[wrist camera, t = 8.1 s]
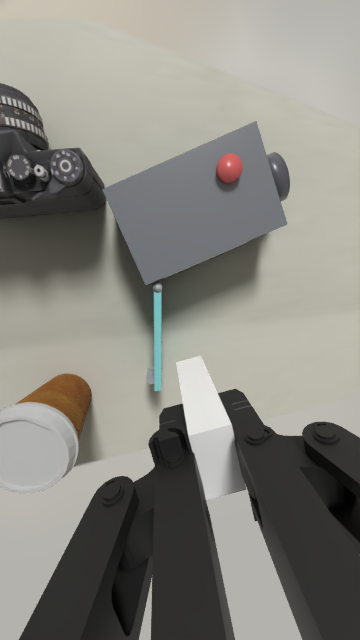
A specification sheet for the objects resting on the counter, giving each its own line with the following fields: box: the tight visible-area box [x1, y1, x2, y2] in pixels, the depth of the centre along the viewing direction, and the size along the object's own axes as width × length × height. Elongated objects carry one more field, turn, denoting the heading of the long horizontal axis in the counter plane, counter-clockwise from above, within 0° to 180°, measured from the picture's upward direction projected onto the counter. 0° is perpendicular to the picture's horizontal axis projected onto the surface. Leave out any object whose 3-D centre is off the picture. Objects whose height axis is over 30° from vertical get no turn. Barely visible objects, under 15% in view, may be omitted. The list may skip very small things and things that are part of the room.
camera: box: [0, 83, 106, 218], centre depth 25 cm, size 14×11×10 cm
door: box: [147, 281, 162, 391], centre depth 31 cm, size 12×2×6 cm, turn 179°
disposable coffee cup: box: [0, 374, 91, 493], centre depth 30 cm, size 10×10×12 cm
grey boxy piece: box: [102, 121, 290, 285], centre depth 28 cm, size 18×10×8 cm, turn 113°
